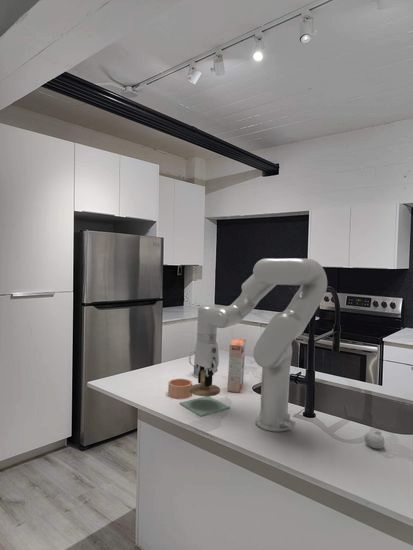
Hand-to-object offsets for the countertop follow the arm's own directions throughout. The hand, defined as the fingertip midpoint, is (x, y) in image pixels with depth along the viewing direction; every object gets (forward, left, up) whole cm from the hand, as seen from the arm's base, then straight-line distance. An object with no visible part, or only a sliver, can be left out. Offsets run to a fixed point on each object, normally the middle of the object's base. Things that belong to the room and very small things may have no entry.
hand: (205, 383), depth 149 cm
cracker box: (+10, -25, -9) cm, 28 cm away
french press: (+32, -21, -9) cm, 39 cm away
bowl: (+16, +1, -9) cm, 18 cm away
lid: (0, 0, -3) cm, 3 cm away
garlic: (-55, -26, -9) cm, 62 cm away
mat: (0, 0, -9) cm, 9 cm away
